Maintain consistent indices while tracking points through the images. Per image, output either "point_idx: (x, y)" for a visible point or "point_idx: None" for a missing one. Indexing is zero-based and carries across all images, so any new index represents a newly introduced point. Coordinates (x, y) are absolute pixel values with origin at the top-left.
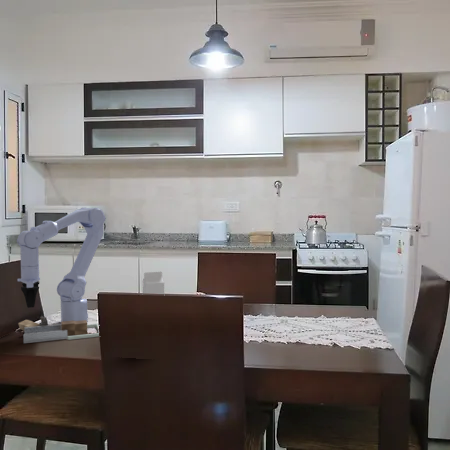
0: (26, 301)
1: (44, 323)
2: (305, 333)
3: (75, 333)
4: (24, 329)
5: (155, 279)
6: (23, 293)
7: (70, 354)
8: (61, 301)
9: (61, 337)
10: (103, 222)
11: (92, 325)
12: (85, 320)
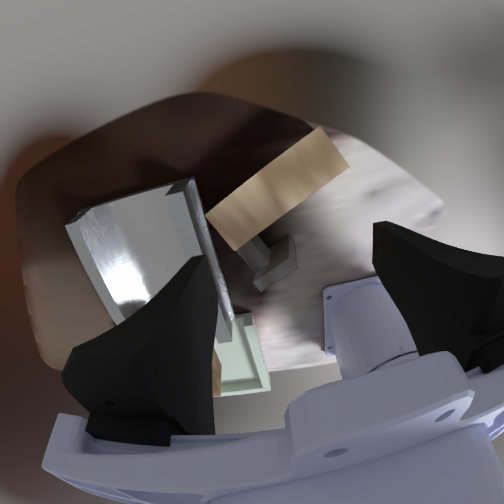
0: (169, 285)
1: (252, 267)
2: None
3: None
4: (166, 194)
5: None
6: (108, 330)
7: (48, 334)
8: (387, 358)
9: None
10: None
11: (260, 379)
12: (215, 394)
